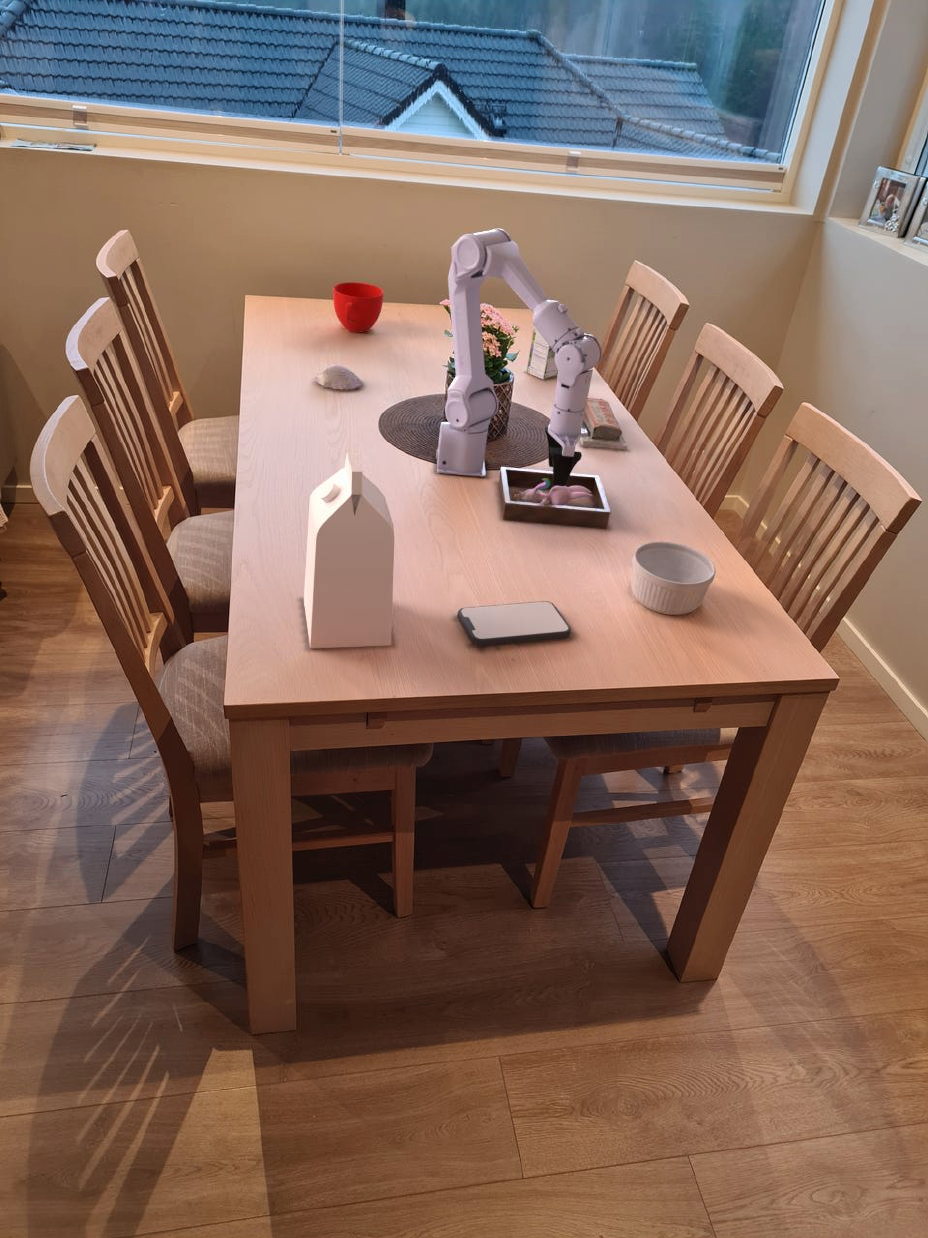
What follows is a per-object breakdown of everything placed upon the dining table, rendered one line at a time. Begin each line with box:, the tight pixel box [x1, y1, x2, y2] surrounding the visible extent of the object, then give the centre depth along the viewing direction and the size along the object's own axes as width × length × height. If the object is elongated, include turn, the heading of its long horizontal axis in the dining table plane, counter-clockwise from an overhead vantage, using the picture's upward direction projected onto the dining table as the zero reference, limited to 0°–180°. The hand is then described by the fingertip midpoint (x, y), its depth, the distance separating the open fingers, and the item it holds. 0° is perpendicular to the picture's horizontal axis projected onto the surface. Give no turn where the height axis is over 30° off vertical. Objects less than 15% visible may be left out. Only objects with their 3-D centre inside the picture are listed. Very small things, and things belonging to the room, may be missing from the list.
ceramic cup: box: [332, 281, 385, 333], centre depth 243 cm, size 13×17×10 cm
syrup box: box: [526, 325, 558, 380], centre depth 230 cm, size 6×6×14 cm
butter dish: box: [579, 397, 628, 451], centre depth 206 cm, size 18×5×10 cm
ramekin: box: [630, 540, 716, 616], centre depth 152 cm, size 13×13×7 cm
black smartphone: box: [456, 600, 572, 648], centre depth 141 cm, size 9×2×16 cm
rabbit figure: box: [511, 478, 593, 506], centre depth 175 cm, size 6×6×15 cm
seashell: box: [314, 364, 362, 391], centre depth 213 cm, size 10×6×10 cm
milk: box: [303, 451, 395, 649], centre depth 131 cm, size 12×12×26 cm
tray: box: [498, 466, 612, 530], centre depth 175 cm, size 19×15×4 cm
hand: (556, 475), depth 173 cm, fingers open, 7 cm apart
